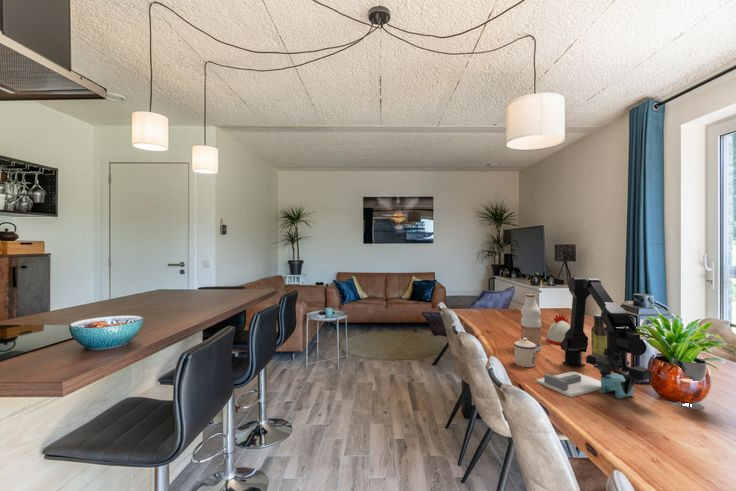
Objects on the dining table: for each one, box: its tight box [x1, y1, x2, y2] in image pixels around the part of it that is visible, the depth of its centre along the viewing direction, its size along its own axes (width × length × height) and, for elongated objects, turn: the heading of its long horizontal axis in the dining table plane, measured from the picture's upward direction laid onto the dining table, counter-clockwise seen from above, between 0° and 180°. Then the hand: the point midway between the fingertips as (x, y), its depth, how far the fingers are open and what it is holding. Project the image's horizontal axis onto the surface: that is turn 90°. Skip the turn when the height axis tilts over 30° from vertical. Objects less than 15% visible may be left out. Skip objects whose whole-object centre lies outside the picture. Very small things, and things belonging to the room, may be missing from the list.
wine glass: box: [672, 356, 707, 411], centre depth 109 cm, size 8×8×15 cm
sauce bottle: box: [590, 313, 607, 355], centre depth 156 cm, size 6×6×20 cm
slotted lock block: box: [600, 372, 635, 400], centre depth 116 cm, size 8×6×6 cm
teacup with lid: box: [513, 338, 537, 368], centre depth 148 cm, size 12×9×12 cm
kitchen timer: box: [546, 314, 571, 346], centre depth 180 cm, size 14×14×15 cm
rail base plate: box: [536, 371, 601, 398], centre depth 125 cm, size 21×14×4 cm, turn 113°
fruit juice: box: [520, 293, 542, 352], centre depth 169 cm, size 9×9×28 cm
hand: (617, 390), depth 116 cm, fingers closed on slotted lock block, 6 cm apart
